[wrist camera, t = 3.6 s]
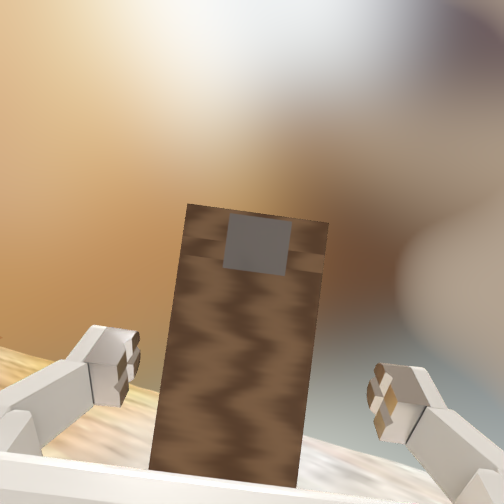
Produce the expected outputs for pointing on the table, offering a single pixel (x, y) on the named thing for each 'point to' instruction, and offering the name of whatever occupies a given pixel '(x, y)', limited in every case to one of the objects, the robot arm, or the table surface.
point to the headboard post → (238, 357)
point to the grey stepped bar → (257, 244)
